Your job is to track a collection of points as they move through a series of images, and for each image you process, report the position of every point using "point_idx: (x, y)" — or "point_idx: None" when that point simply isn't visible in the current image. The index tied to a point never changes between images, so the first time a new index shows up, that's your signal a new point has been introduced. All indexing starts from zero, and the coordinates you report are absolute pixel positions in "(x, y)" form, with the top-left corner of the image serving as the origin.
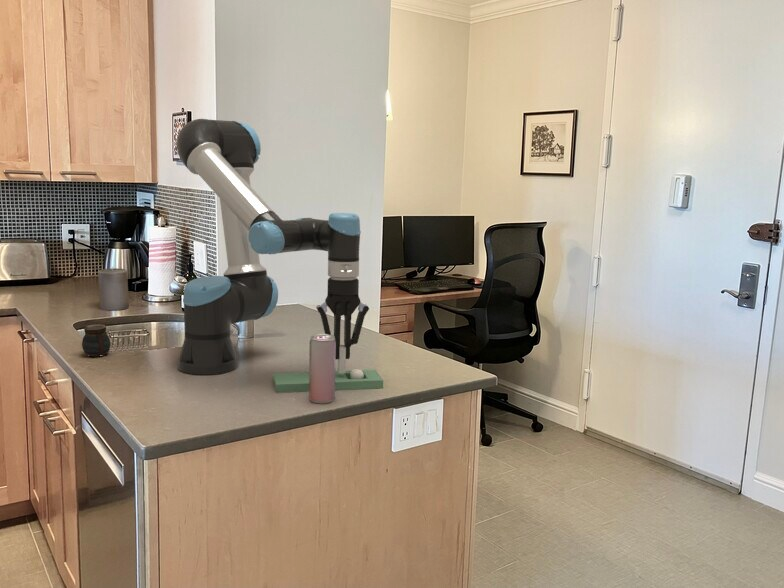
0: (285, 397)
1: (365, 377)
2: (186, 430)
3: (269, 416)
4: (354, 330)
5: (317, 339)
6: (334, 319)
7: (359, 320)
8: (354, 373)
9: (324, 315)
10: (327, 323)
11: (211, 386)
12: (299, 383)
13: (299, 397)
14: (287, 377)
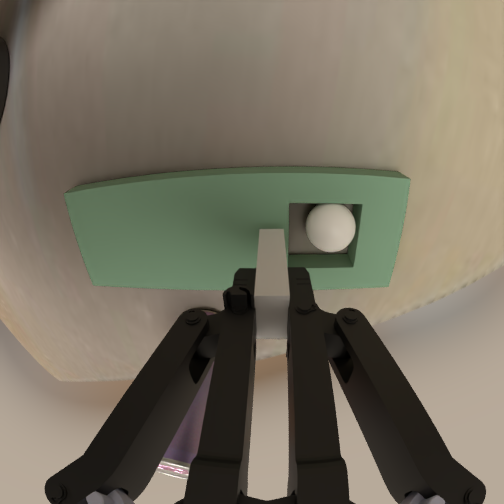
0: (128, 302)
1: (356, 232)
2: (64, 367)
3: (130, 366)
4: (357, 384)
5: (163, 471)
6: (202, 454)
7: (381, 461)
8: (319, 247)
9: (132, 486)
10: (161, 447)
11: (3, 220)
12: (141, 286)
13: (157, 307)
14: (102, 234)
